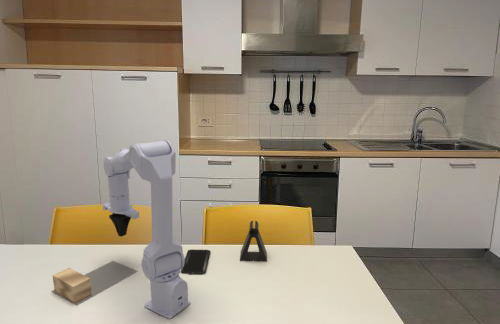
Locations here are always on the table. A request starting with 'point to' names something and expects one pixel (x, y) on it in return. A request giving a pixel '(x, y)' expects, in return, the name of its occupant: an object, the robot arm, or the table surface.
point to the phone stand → (262, 251)
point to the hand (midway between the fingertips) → (122, 235)
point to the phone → (196, 262)
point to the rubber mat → (105, 278)
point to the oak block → (72, 285)
